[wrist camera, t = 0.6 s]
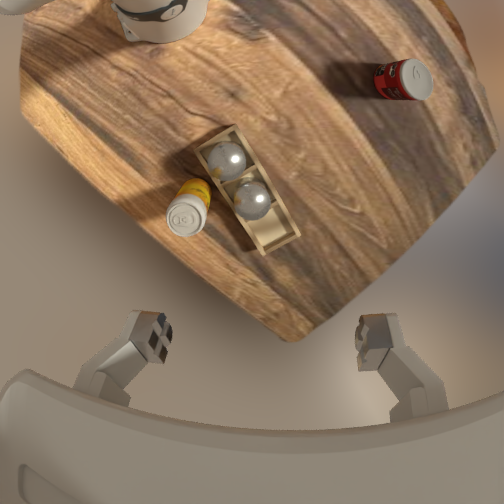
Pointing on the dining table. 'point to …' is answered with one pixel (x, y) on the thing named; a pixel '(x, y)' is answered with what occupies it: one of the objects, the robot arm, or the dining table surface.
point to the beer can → (189, 208)
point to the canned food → (404, 80)
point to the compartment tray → (278, 218)
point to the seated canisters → (247, 189)
